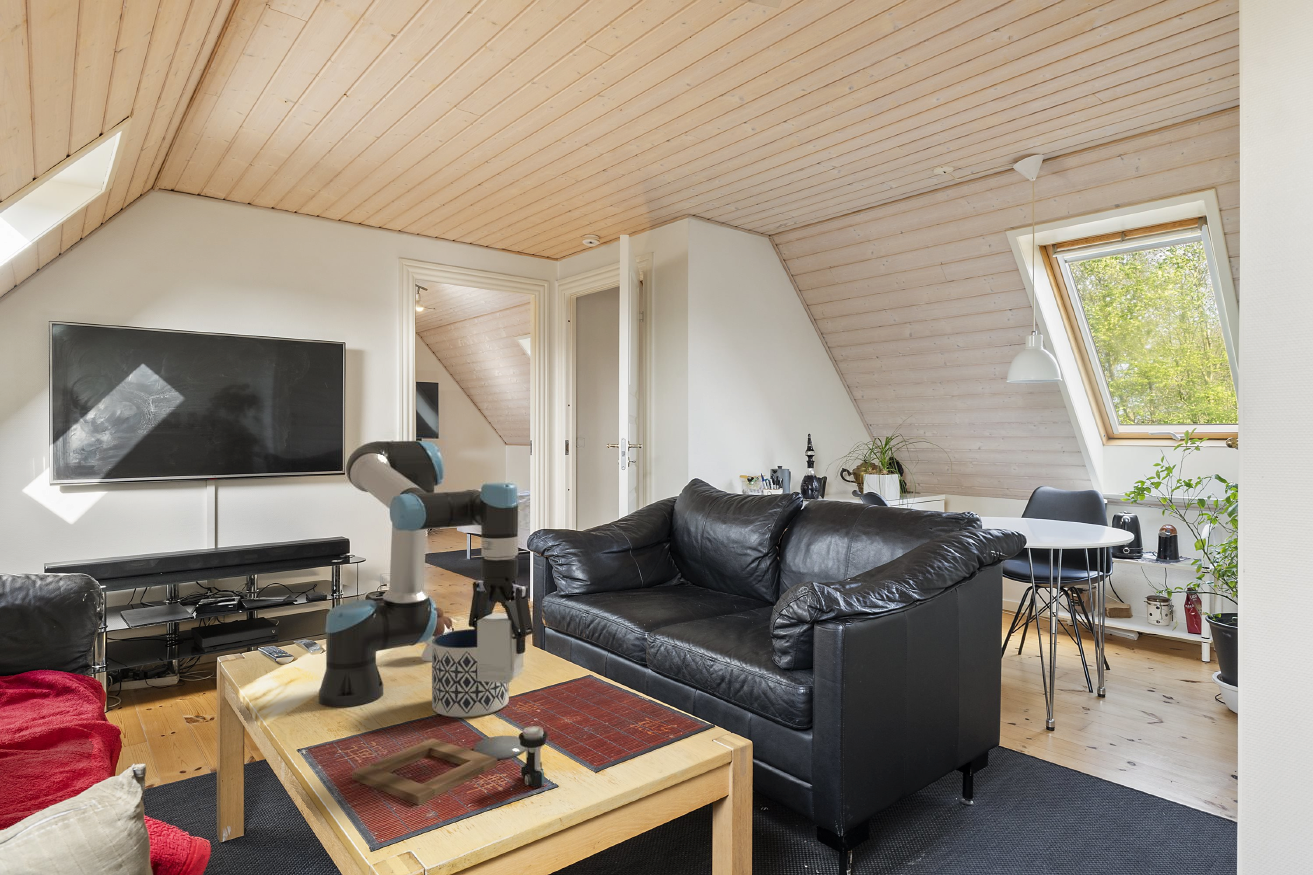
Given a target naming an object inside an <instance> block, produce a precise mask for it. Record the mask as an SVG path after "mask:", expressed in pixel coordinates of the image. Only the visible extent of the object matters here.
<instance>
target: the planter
mask: <svg viewBox="0 0 1313 875" xmlns="http://www.w3.org/2000/svg"><path fill="white" fill-rule="evenodd" d="M509 700H510V683H500V682H485V681H477V644H476V631H475V629H474V628H470V629H469V628H467V629H459V630H458V629H457V630H452V632H448V633H444V634H441V635H438V636H437V637H435V638H434V639H433V640H432V662H431V706H432V710H433V711H435V712H436V713H437V714H438V715H441V716H445V717H449V718H464V719H466V718H476V717H481V716H486V715H491V714H493V713H495V712H498V711H499V710H501V709H503V708H504V707H506V706H507V705H508V703H509Z"/></svg>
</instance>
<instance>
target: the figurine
mask: <svg viewBox="0 0 1313 875" xmlns="http://www.w3.org/2000/svg"><path fill="white" fill-rule="evenodd" d="M436 611H437V623H436V627H435V630H434V633H433V635H432V636H431V637H430V638H429V640H427V641H426V642H424V644H426V645H425V647H424V649H423V651H422V653H421V657H420V658H421V661H423V662H426V663H428V662H429V663H432V640H433V639H434V638H435V637H437V636H438V635H441V634H444V633H448V632H452V631H453V620H452V619H451V618H450V617H449V616H445V615H444V611H443V609H442V608H440V607H436Z"/></svg>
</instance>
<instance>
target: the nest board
mask: <svg viewBox="0 0 1313 875" xmlns="http://www.w3.org/2000/svg"><path fill="white" fill-rule="evenodd" d="M428 756H433V757H436V758H439V759H441V760H445V761H447V762H450V763H454V764H457V765H460V766H457V767H455V768H453V769H451V770H449V771H446V772H445V773H442V774H440V775H439V776H436V777H433V778H431V779H430V780H427V781H425V782H423V783H421V782H418V781H417V782H416V781H414V780H411V779H408V778H405V777H404V776H401V775H397V774H396V773H395V774H394V773H392V772H394V771H396V770H399V769H401V768H403V767H406V766H407V765H410V764H412V763H415V762H417V761H419V760H422V759H424V758H426V757H428ZM497 766H498V760H497V758H494V757H491V756H488V755H484V754H481V753H478V752H475V751H474V750H471V749H469V748H465V747H462V746H459V745H455V744H453V743H452V744H451V743H449V742H445V741H442V740H439V739H436V738H430V739H427V740H425V741H422V742H420V743H417V744H415V745H413V746H412V745H411V746H410V747H408V748H405V749H403V750H401V751H398V752H396V753H393V754H391V755H389V756H386V757H383V758H381V759H380V760H376V761H374V762H371V763H369V764H367V765H365V766H362V767H360V768H357V769H354V770H352V780H354V781H356V782H359V783H361V784H364V785H366V786H369V787H371V788H374V789H377V790H380V791H382V792H385V793H387V794H389V795H391V796H394V797H397V798H398V799H399V798H400V799H402V800H405V801H408V802H410V803H412V804H415V805H418V806H420V805H421V804H424V803H427V802H428V801H430V800H432V799H434V798H436V797H438V796H440V795H442V794H444V793H446V792H448V791H450V790H452V789H454V788H456V787H459V786H460V785H463V784H464V783H466V782H468V781H470V780H472V779H474V778H476V777H478V776H480V775H482V774H485V773H486V772H488V771H490V770H491V769H495V767H497Z"/></svg>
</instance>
